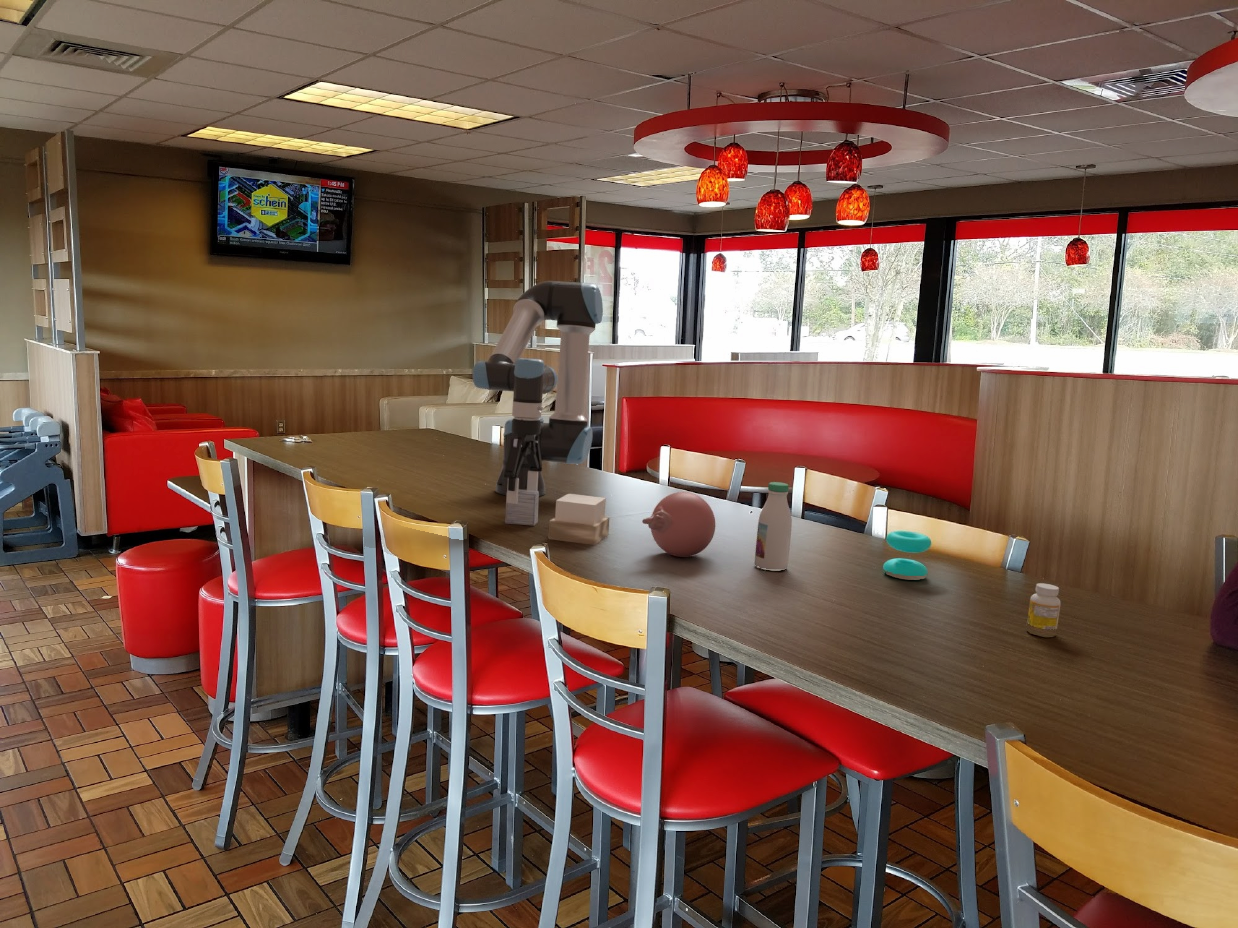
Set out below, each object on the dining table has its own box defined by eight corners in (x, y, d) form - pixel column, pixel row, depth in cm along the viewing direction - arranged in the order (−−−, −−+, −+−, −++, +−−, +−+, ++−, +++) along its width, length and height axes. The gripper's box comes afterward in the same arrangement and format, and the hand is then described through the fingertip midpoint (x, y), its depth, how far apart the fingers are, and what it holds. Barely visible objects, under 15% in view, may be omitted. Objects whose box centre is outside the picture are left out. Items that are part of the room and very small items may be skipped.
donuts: (909, 528, 220) (941, 538, 211) (904, 569, 221) (936, 580, 213) (877, 530, 215) (909, 540, 206) (873, 571, 217) (904, 583, 208)
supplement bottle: (1051, 640, 175) (1058, 592, 173) (1022, 633, 178) (1028, 585, 177) (1059, 634, 179) (1066, 586, 177) (1030, 627, 182) (1037, 580, 181)
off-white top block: (567, 512, 238) (568, 493, 237) (604, 517, 235) (605, 498, 234) (555, 520, 228) (556, 500, 227) (593, 525, 226) (595, 505, 225)
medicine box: (537, 522, 244) (539, 490, 243) (534, 526, 240) (536, 493, 239) (508, 520, 245) (510, 488, 244) (504, 523, 241) (506, 491, 239)
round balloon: (619, 552, 219) (624, 489, 217) (685, 545, 230) (690, 485, 228) (658, 569, 207) (663, 502, 204) (726, 560, 218) (731, 497, 215)
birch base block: (564, 530, 239) (565, 511, 239) (608, 536, 236) (609, 517, 235) (548, 540, 228) (549, 520, 227) (594, 546, 225) (595, 526, 224)
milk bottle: (790, 566, 217) (798, 483, 213) (784, 574, 209) (793, 488, 206) (757, 561, 219) (765, 479, 216) (751, 569, 212) (759, 483, 209)
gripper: (521, 423, 225) (517, 508, 228) (556, 416, 249) (552, 493, 252) (493, 420, 227) (489, 504, 230) (531, 414, 251) (526, 490, 254)
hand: (522, 499), depth 241 cm, fingers open, 13 cm apart
